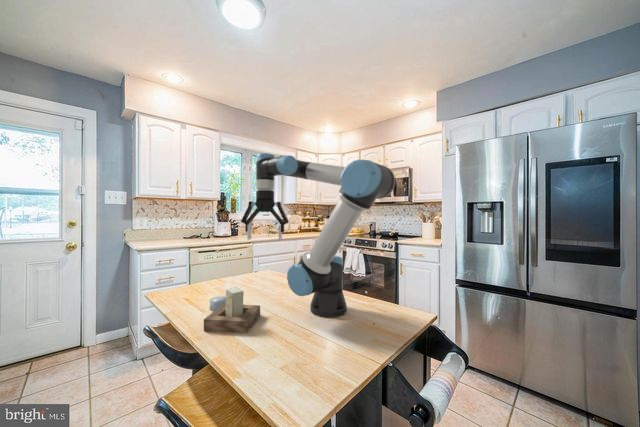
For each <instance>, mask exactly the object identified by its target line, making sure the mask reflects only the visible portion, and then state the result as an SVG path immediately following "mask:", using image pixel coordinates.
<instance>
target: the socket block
mask: <svg viewBox="0 0 640 427" xmlns="http://www.w3.org/2000/svg"><path fill="white" fill-rule="evenodd" d="M225 308H226V304H223V305H221V306H220V307H219V308H218V309H216V310H215V311H211V313H209V315H208V316H206V317H205V318H204V319H203V331H204V332H215V333H216V332H219V333H236V334H247V333H248V332H249V331H250V329H251V328H252V326H254V324H256V323H255V322H257V320H258V319H260V316H261V305H255V304H243V315H242V316H241V317H227V316H225Z"/></svg>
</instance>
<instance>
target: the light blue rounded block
mask: <svg viewBox="0 0 640 427" xmlns="http://www.w3.org/2000/svg"><path fill="white" fill-rule="evenodd" d="M223 304H226V296H222V295H220V296H215V297H212V298H210V299H209V311H211V312H214V311H215V310H216V309H218V308H219V307H220V306H221V305H223Z"/></svg>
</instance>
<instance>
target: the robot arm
mask: <svg viewBox="0 0 640 427" xmlns="http://www.w3.org/2000/svg"><path fill="white" fill-rule="evenodd" d="M255 166H256V167H255V168H256V169H255V170H256V173H255V174H256V175H255V177H256V180H255V182H256V183H255V184H256V186H255V188H256V190H255V191H256V193H255V195H256V196H255V198H256V199H255V201H251V200H250V201H248V204H247V205H248V206H247V209H246V210H245V212H244V214H243V216H242V218H241V220H240V222H241V223H242V224H244V225H245V227H244V228H245V232H247V233H246V234H247V238H246V239H247V240H252V224H251V222H252V221H253V220H254V219H255V218H256V216H257V215H258V214H259V213H260V212H261V213H271V214H272V216H274V218H275V219H276V220H277V222H278V223H279V224H278V241H282V240H283V233H284V232H285V225H287V224H288V223H289V219H288V216H286V213H285V210H284V208H283V206H282V205H283V204H282V202H281V201H277V202H275V191H274V190H275V176H277V177H278V176H284V177H292V178H298V179H304V180H310V181H315V182H321V183H325V184H329V185H334V186H335V185H336V186H340V188H339V190H338V193H339V197H340V198H339V200H338V201H337V203H336V205H335V207H334V208H333V210H332V212H331V213H330V216H329V218H328V219H327V220H326V222H325V224H324V226H323V228H322V229H321V230H320V233H319V234H318V236H317V238H316V240H315V242H314V243H313V245H312V247H311V248H310V251H306V252H304V253H303V254H302V256H301V258H300V259H299V261H298V262H297V263H294V264H293V265H291V266H289V268H288V270H287V273H286V280H287V284H288V286H289V288H290V290H291V291H292V292H293V293H294V294H295V295H297V296H298V297H305V296H310V295H311V294H313V297H312V300H311V303H310V312H311V313H312V314H313V315H315V316H318V317H321V318H322V317H323V318H337V317H341V316H345V314H346V313H347V311H348V310H347V309H348V308H347V307H348V306H347V302H346V298H345V297H344V291H343V290H344V288H343V284H344V267H345V266H344V260H343V257H341V256H340V255H339V256H338V255H337V253H338V252H339V250H340V249H341V247H342V245H343V243H344V242H345V241H346V239H347V238H348V235H349V234H350V232H351V231H352V230H353V227H354V226H355V225H356V223H357V222H358V220H359V218H360V216H361V214H362V213H363V212H365V211H369V210H371V207H372V206H373V205H374V202H375V201H376V200H380V199H383V198H386V197H388V196H389V195H391V194H392V192H394V188H395V186H396V177H395V174H394V172H393V170H392V169H390V168H389V167H387V166H385V165H383V164H380V163H377V162H374V161H372V160H370V159H369V160H368V159H356V160H353V161H351V162H350V163H348V164H347V165H346V166H339V165H333V164H326V163H320V162H319V163H317V162H312V161H311V162H310V161H304V160H300V159H296V158H295V157H294V155H288V154H287V155H286V154H285V155H279V156H275V155H274V154H272V153H269V152H268V153H265V152H264V153H262V152H261V153H258V154H257V155H256V162H255ZM255 206H256V208H255V210H254V211H253V212H252V209H253V207H255ZM274 207H276V208H277V209H278V211H279V213H280V214H278V213H277V211H276V210H275V209H274ZM251 212H252V213H251ZM250 214H251V215H250ZM249 215H250V216H249ZM280 215H281V217H280Z"/></svg>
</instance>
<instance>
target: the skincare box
mask: <svg viewBox="0 0 640 427" xmlns="http://www.w3.org/2000/svg"><path fill="white" fill-rule="evenodd" d="M225 297H226V308H225V316H227V317H241V316H242V315H243V305H244V290H242V289H241V288H239V287H230V288H226V289H225Z"/></svg>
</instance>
